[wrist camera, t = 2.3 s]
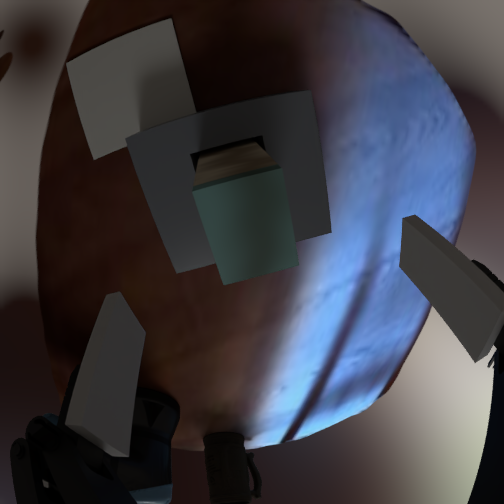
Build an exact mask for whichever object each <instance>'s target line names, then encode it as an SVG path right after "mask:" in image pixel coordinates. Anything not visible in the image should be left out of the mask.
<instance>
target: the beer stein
mask: <svg viewBox="0 0 504 504" xmlns="http://www.w3.org/2000/svg"><path fill="white" fill-rule="evenodd" d="M203 443H204V446H205V449H204V452H205V464H206V470H207V480H208V485H209V491H210V492H209V493H210V502H211V504H249V503H251V500H252V497H253V498H255V499H260V498H261V486H262V480H261V477H260V474H259V471H258V469H257V467H256V466H255V464H254V462H253V458H254V453H252V452H250V453H246V451H245V447H244V437H243V436H242V435H240V434H237V433H231V432H222V433H214V434H210V435H208V436H206V437H205V438H204V440H203ZM248 467H249V469H250V472H251V474H252V477H253V481H254V490H252V491H251V490H250V487H249V472H248Z"/></svg>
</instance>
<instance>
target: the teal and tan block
mask: <svg viewBox="0 0 504 504" xmlns="http://www.w3.org/2000/svg"><path fill="white" fill-rule="evenodd" d="M192 193H193V196H194V199H195V202H196V206H197V209H198V212H199V215H200V218H201V221H202V224H203V227H204V230H205V233H206V235H207V238H208V241H209V244H210V247H211V250H212V253H213V256H214V259H215V262H216V264H217V267H218V270H219V273H220V276H221V279H222V281H223V284H224V285H227V284H231V283H234V282H238V281H242V280H246V279H250V278H254V277H257V276H261V275H265V274H269V273H272V272H276V271H280V270H284V269H287V268H291V267H295V266H298V265H299V262H298V255H297V249H296V243H295V237H294V231H293V225H292V220H291V214H290V208H289V203H288V197H287V192H286V187H285V182H284V176H283V171H282V168H281V167H280V166H279V165H278V164H277V163H276V162H275V161H274V160H273V159H272V158H271V157H270V156H269V155H268V154H267V153H266V152H265V151H264V150H263V149H262V148H261V147H260V146H259V145H258V144H257V143H256V142H255V141H254V140H253V139H252V138H248V139H243V140H239V141H235V142H231V143H228V144H224V145H220V146H216V147H213V148H209V149H206V150H202V151H200V155H199V160H198V164H197V169H196V174H195V179H194V184H193V189H192Z"/></svg>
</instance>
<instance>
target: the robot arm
mask: <svg viewBox="0 0 504 504" xmlns="http://www.w3.org/2000/svg"><path fill="white" fill-rule="evenodd" d="M399 267H400V268H401V269H402V270H403V271H404V273H405V274H406V275H407V276H408V277H409V278H410V279H411V281H412V282H413V283H414V284H415V285H416V286H417V288H418V289H419V290H420V291H421V292H422V294H423V295H424V296H425V297H426V298H427V300H428V301H429V302H430V303H431V305H432V306H433V307H434V308H435V309H436V311H437V312H438V313H439V314H440V316H441V317H442V318H443V320H444V321H445V322H446V324H447V325H448V326H449V327H450V329H451V330H452V331H453V333H454V334H455V335H456V337H457V338H458V340H459V341H460V342H461V344H462V345H463V346H464V348H465V349H466V350H467V352H468V353H469V355H470V356H471V358H472V359H473V360H474V362H475V363H476V362H477V361H479V360H480V359H482V358H483V357H485V356H486V355H488V353H489V352H490V350H491V348H492V346H493V344H494V346H495V347H496V348H497V350H496V352H495V353H494V355H493V356H492V358H491V360H490V361H489V363H488V367H490V366H491V365H492V363H493V361H494V366H493V368H494V378H493V391H492V401H491V409H490V416H489V423H488V429H487V435H486V440H485V445H484V449H483V453H482V457H481V462H480V465H479V469H478V473H477V476H476V480H475V483H474V486H473V489H472V492H471V495H470V498H469V501H468V503H467V504H504V284H503V282H501V281H500V280H498V278H497V277H496V276H495V275H494V274H492V272H491V271H490V270H489V269H488V268H487V267H486V266H485V265H483V264H481V263H479V262H478V261H476V260H472V261H470V260H469V259H468V258H467V257H466V256H465V255H464V254H463V253H462V252H460V251H459V250H458V249H457V248H456V247H455V246H454V245H452V244H451V243H450V242H449V241H448V240H446V239H445V238H444V237H443V236H442V235H440V234H439V233H438V232H437V231H435V230H434V229H433V228H432V227H430V226H429V225H428V224H427V223H425V222H424V221H423V220H421V219H420V218H419V217H418V216H416V215H412V216H408V217H405V218H403V219H402V238H401V252H400V263H399ZM145 335H146V333H145V331H144V330H143V328H142V326H141V325H140V323H139V322H138V320H137V319H136V317H135V315H134V314H133V312H132V311H131V309H130V307H129V306H128V304H127V303H126V301H125V299H124V298H123V296H122V294H121V292H116V293H112V294H108V295H106V297H105V300H104V302H103V305H102V307H101V310H100V312H99V315H98V318H97V320H96V323H95V326H94V328H93V331H92V334H91V337H90V340H89V342H88V345H87V348H86V351H85V354H84V357H83V360H82V363H81V365H77V366H76V368H75V369H74V371H73V372H72V374H71V376H70V379H69V382H68V388H67V389H66V392H65V395H66V396H64V400H63V403H62V407H61V411H60V415H59V416H57V415H54V414H52V413H47V414H44V415H43V416H37V417H35V418H33V419H32V420H31V421H30V422H29V424H28V426H27V428H26V433H25V434H26V439H24V438H18V439H17V440H15V441H14V442H13V444H12V447H11V450H10V458H11V468H12V477H13V484H14V490H15V495H16V500H17V504H168V503H169V502H170V501H171V496H172V495H171V494H172V486H173V484H172V474H171V473H172V472H171V440H172V438H173V435H174V433H175V430H176V428H177V425H178V422H179V420H180V407H179V405H178V404H177V403H176V402H175V401H174V400H173V399H172V398H170V397H168V396H166V395H164V394H162V393H159V392H156V391H153V390H149V389H144V388H137V381H138V375H139V369H140V363H141V357H142V351H143V345H144V340H145Z"/></svg>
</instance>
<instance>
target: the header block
mask: <svg viewBox="0 0 504 504" xmlns="http://www.w3.org/2000/svg"><path fill="white" fill-rule="evenodd" d="M252 137H255V141H256V143H257V144H258V145H259V146H260V147H261V148H262V149H263V150H264V151H265V152H266V153H267V154H268V155H269V156H270V157H271V158H272V159H273V160H274V161H275V162H276V163H277V164H278V165H279V166H280V167H281V168H282V171H283V176H284V182H285V187H286V192H287V197H288V203H289V208H290V214H291V220H292V225H293V231H294V237H295V242H298V241H301V240H305V239H309V238H313V237H317V236H320V235H324V234H328V233H332V231H331V221H330V211H329V202H328V193H327V185H326V178H325V170H324V163H323V156H322V150H321V143H320V137H319V131H318V125H317V119H316V114H315V109H314V103H313V98H312V93H311V90H301V91H290V92H284V93H278V94H272V95H267V96H262V97H257V98H252V99H247V100H243V101H238V102H234V103H230V104H226V105H222V106H218V107H214V108H210V109H207V110H203V111H199V112H196V113H193V114H190V115H186V116H183V117H180V118H177V119H173V120H170V121H167V122H164V123H161V124H159V125H156V126H153V127H150V128H147V129H145V130H142V131H139V132H137V133H135V134H133V135H131V136H129V137H127V138H125V140H126V143H127V146H128V149H129V152H130V155H131V158H132V161H133V164H134V167H135V170H136V173H137V175H138V178H139V181H140V184H141V186H142V189H143V192H144V195H145V197H146V200H147V203H148V205H149V208H150V210H151V213H152V215H153V218H154V220H155V223H156V226H157V228H158V230H159V233H160V235H161V238H162V240H163V243H164V245H165V247H166V250H167V252H168V254H169V257H170V259H171V261H172V264H173V266H174V268H175V271H176V273H180V272H184V271H188V270H192V269H196V268H199V267H203V266H207V265H211V264H215V263H216V262H215V259H214V256H213V253H212V250H211V247H210V244H209V241H208V238H207V235H206V233H205V230H204V227H203V224H202V221H201V218H200V215H199V212H198V209H197V206H196V202H195V199H194V196H193V193H192V189H193V184H194V179H195V174H196V169H197V164H198V160H199V159H198V155H197V152H199V151H202V150H206V149H209V148H213V147H216V146H220V145H224V144H228V143H231V142H235V141H239V140H243V139H248V138H252Z"/></svg>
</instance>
